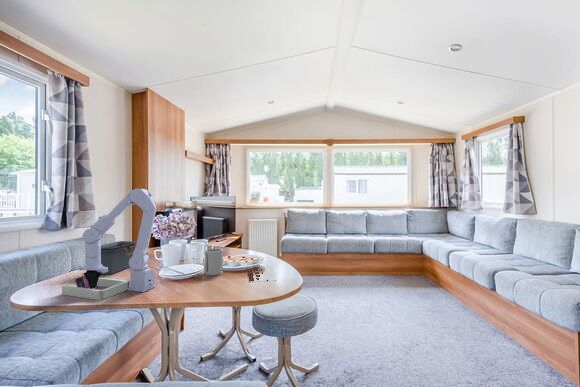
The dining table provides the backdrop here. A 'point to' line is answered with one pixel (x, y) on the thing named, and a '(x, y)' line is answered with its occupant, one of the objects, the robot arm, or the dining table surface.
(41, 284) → the dining table surface
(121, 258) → the storage bin
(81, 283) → the game card
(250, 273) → the chocolate bar
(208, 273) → the cup
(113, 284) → the open box
